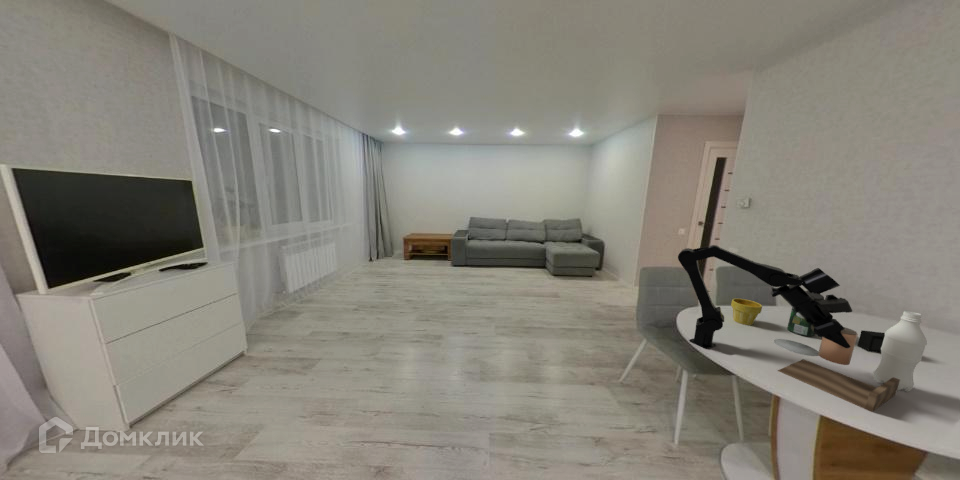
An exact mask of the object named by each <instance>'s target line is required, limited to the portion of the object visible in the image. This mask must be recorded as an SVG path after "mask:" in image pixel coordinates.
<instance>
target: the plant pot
mask: <svg viewBox="0 0 960 480" xmlns="http://www.w3.org/2000/svg"><path fill="white" fill-rule="evenodd" d="M730 307H731V308H732V316H733V317H732V318H733V321H734V322H736V323H739V324H741V325H745V326H746V325H747V326H752V325H754V322H755V320H756V318H757V317H758V315H759V314H761V313H762V310H763V305H762V304H761V303H759V302H757V301H753V300H749V299H746V298H745V299H744V298H732V299H731V304H730Z"/></svg>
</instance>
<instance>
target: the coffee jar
mask: <svg viewBox="0 0 960 480" xmlns="http://www.w3.org/2000/svg"><path fill="white" fill-rule="evenodd" d="M804 291H805V292H807V293H808V294H809V295H810V296H811V297H812V298H815V299H816V300H817V301H822V300H823V299H825V297H824V296H823V294H822V293H820V294H817V293H816V294H814V293H810V292H809V291H808V290H804ZM811 325H812V324H810V323H808V322H807V321H806V320H805V319H804V318H803V317H802V316H801V315H800V314H799V313H798V312H796V311H795V310H794V308H793V307H792V306H791V311H790V315H789V318H788V323H787V330H788V331H789V332H790V333H791V332H792V333H793V334H796V335H799V336H804V337H812V336H813V337H814V336H815V335H816V334H815V333H814V332H813V330H812V329H811Z"/></svg>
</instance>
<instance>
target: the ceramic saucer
mask: <svg viewBox="0 0 960 480" xmlns="http://www.w3.org/2000/svg"><path fill="white" fill-rule="evenodd" d="M773 343H774V344H775V345H776V346H778V347H780V348H782V349H784V350H787V351H789V352H792V353H794V354H799V355H802V356H803V355H804V356H807V357H808V356H809V357H818V356H819V355H818V352H819V350H817V349H815V348H813V347H811V346H809V345H807V344H805V343H802V342H798V341H794V340H791V339H785V338H784V339H783V338H776V339H773ZM819 357H820V356H819Z"/></svg>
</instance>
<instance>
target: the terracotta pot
mask: <svg viewBox="0 0 960 480" xmlns="http://www.w3.org/2000/svg"><path fill="white" fill-rule="evenodd" d="M843 327H844V326H843ZM844 328H845V329H844V330H841V334H842V335H843V337H844V338H845V339H846V341H847V342H848V344H849V345H850V346H851V347H850V348H845V347H843V346H841V345H839V344H837V343H834V342H832V341H830V340H828V339H826V338H824V337H821V341H820V344H819V345H820V346H819V349H818V355H819V357H820V358H821V359H823V360H826V361H828V362H831V363H834V364H837V365H842V366H843V365H844V366H849V365H851V360H852V358H853V353H854V350H855V346H856V343H857V338H858V336H859V334H858V333H857V331H855V330H853V329H851V328H848V327H844Z"/></svg>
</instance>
